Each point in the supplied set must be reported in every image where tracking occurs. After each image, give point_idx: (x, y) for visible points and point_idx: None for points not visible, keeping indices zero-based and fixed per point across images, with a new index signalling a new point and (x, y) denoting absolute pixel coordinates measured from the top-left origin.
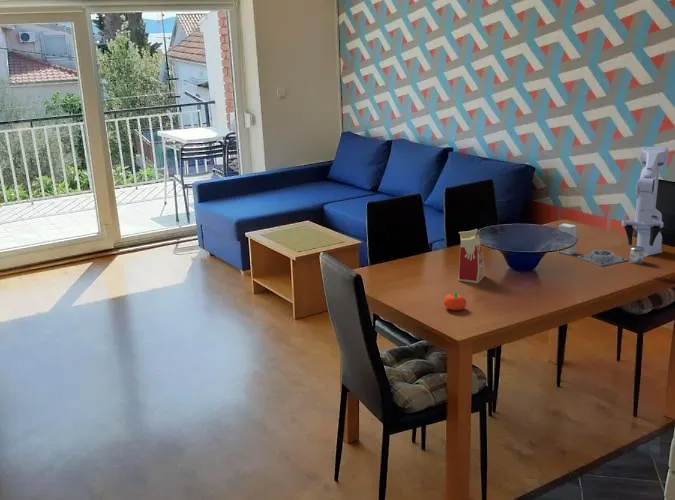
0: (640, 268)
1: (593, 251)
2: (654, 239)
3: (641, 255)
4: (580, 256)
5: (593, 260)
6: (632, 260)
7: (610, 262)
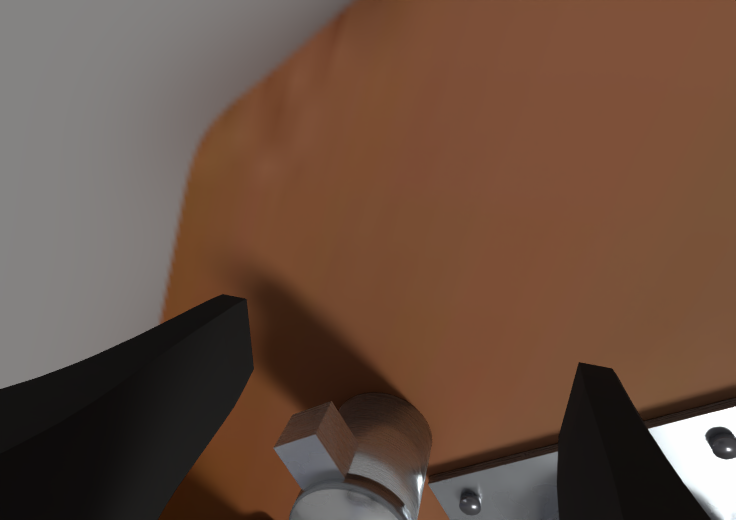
0: (399, 289)
1: None
2: (129, 341)
3: (342, 428)
4: None
5: None
6: (418, 432)
7: None
